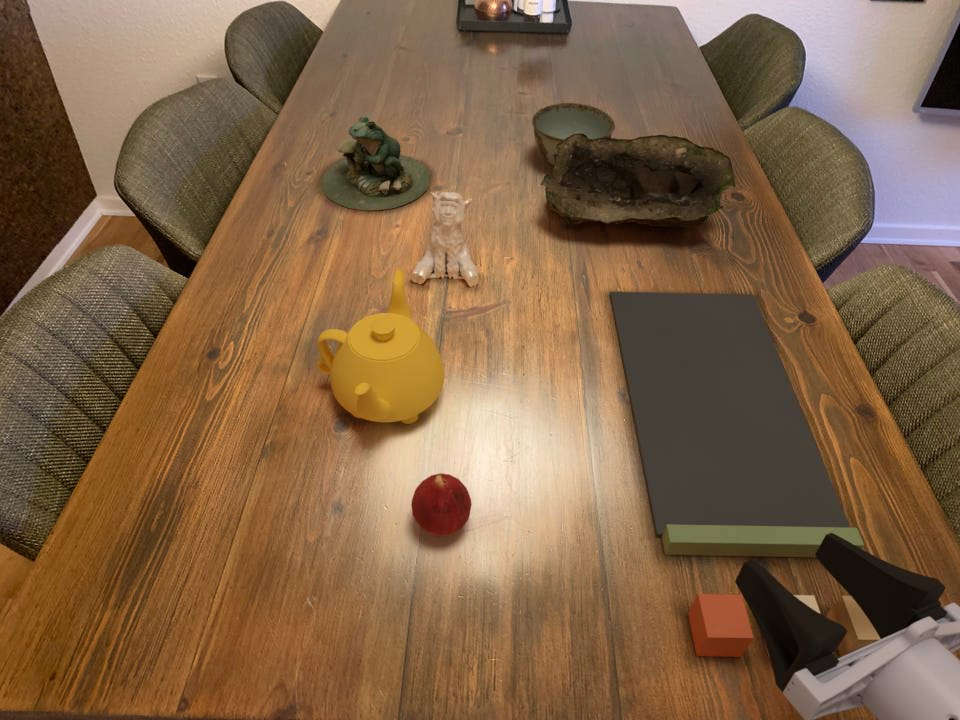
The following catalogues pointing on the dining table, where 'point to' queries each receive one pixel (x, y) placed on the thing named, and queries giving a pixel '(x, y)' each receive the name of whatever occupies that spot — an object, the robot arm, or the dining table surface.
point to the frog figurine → (373, 171)
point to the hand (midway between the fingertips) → (784, 556)
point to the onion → (441, 504)
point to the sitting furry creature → (447, 243)
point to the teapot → (384, 364)
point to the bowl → (568, 126)
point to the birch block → (852, 625)
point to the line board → (722, 430)
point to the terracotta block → (720, 625)
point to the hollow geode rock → (637, 180)
